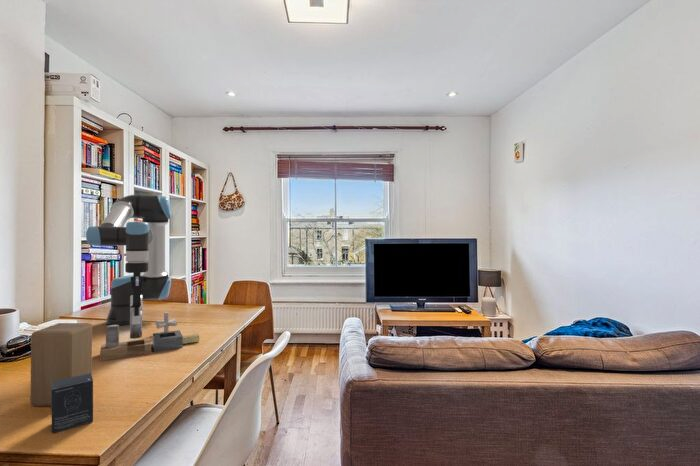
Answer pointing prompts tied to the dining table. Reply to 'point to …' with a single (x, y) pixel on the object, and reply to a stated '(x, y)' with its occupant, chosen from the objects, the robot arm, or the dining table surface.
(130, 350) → the rack
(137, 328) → the grey metal bar
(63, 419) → the box
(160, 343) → the socket
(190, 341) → the olive rectangular bar
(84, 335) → the block
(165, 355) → the dining table surface
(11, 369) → the dining table surface
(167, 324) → the pipe connector
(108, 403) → the dining table surface
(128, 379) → the dining table surface
